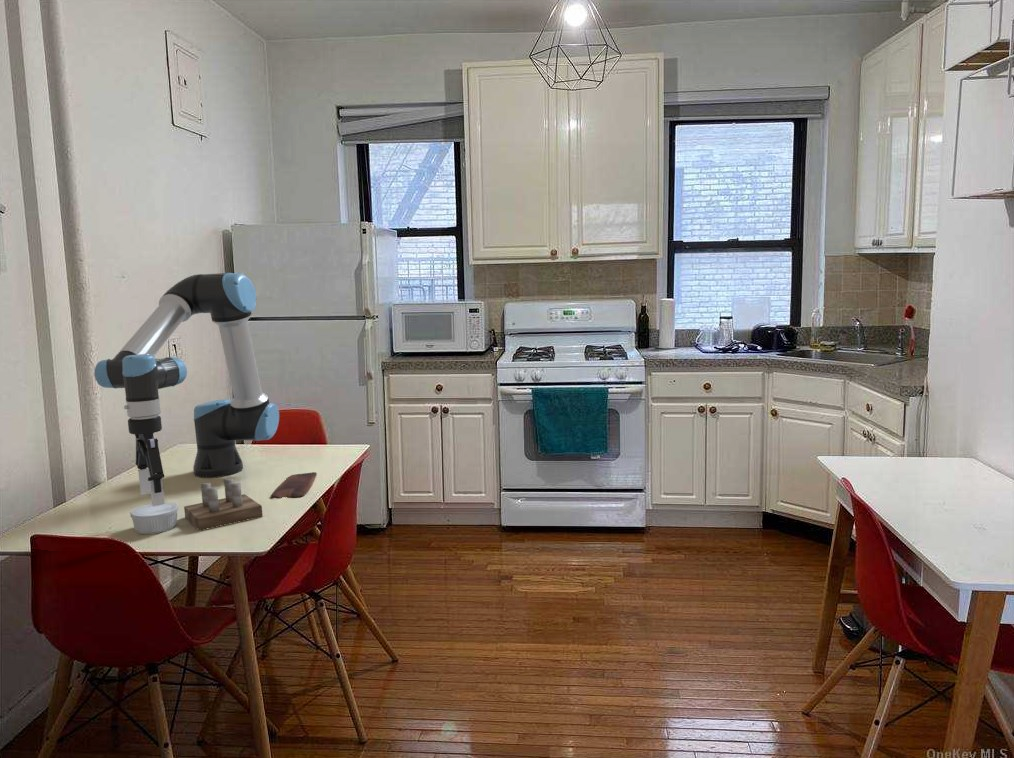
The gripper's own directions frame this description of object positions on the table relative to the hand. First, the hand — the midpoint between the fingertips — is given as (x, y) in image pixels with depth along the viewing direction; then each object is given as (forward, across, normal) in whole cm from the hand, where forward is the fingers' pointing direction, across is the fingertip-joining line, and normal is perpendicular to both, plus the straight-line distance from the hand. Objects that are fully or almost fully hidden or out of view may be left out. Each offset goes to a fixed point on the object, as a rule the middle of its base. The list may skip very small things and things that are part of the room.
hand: (152, 499), depth 195 cm
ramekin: (+8, 0, 0) cm, 8 cm away
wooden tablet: (+8, -13, +43) cm, 45 cm away
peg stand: (+8, +3, +16) cm, 18 cm away
